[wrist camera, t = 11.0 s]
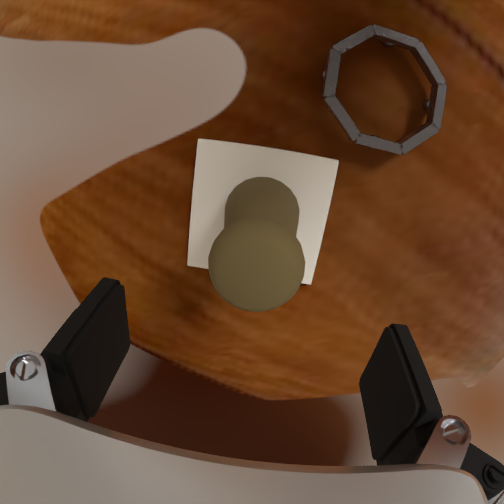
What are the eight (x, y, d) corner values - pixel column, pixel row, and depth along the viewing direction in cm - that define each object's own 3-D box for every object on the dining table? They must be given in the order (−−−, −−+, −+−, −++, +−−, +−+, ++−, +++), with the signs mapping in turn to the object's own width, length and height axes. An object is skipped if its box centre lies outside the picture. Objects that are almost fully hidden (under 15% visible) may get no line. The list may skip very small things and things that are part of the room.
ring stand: (329, 20, 20) (334, 12, 18) (439, 55, 20) (451, 52, 18) (311, 134, 24) (315, 136, 22) (422, 161, 24) (433, 165, 22)
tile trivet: (199, 138, 24) (198, 138, 24) (337, 159, 24) (339, 160, 24) (188, 262, 29) (187, 265, 28) (310, 281, 29) (310, 284, 28)
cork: (230, 251, 27) (207, 332, 17) (219, 181, 25) (182, 228, 15) (302, 244, 27) (318, 324, 17) (296, 172, 24) (313, 215, 14)
